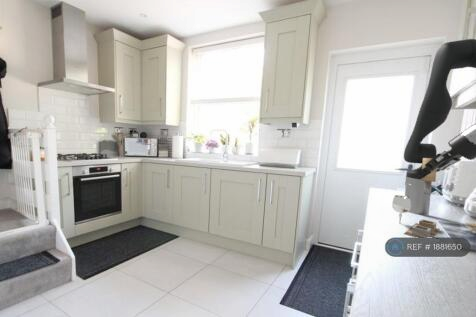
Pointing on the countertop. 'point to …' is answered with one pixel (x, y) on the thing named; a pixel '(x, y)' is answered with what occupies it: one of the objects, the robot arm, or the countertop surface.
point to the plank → (423, 229)
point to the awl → (428, 177)
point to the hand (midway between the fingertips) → (421, 176)
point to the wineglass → (401, 205)
